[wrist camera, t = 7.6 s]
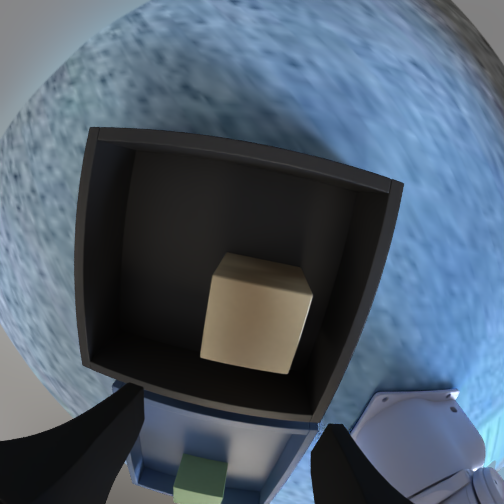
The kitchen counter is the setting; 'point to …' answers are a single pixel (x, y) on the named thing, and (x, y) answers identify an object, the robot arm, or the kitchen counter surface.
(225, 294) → the cream cube
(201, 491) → the green cube
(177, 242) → the black basket
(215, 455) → the blue box
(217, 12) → the kitchen counter surface
